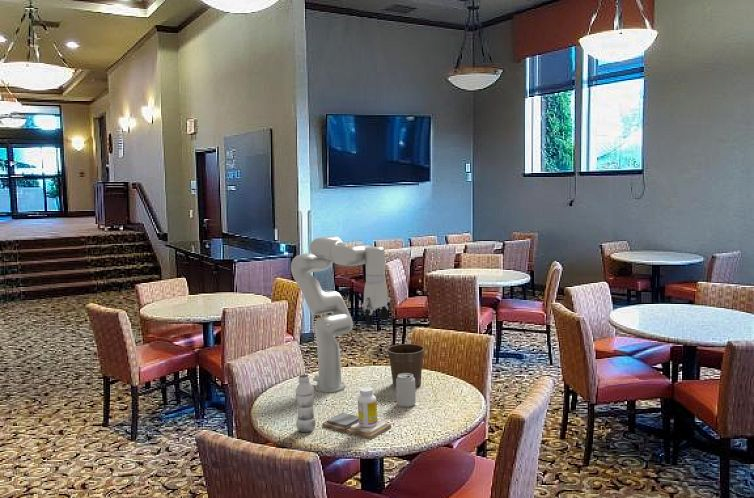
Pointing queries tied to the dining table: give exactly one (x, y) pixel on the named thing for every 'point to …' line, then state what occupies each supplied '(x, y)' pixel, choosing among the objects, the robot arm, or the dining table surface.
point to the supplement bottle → (367, 408)
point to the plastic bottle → (305, 404)
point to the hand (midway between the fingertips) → (377, 322)
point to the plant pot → (406, 361)
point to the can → (405, 390)
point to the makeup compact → (355, 426)
